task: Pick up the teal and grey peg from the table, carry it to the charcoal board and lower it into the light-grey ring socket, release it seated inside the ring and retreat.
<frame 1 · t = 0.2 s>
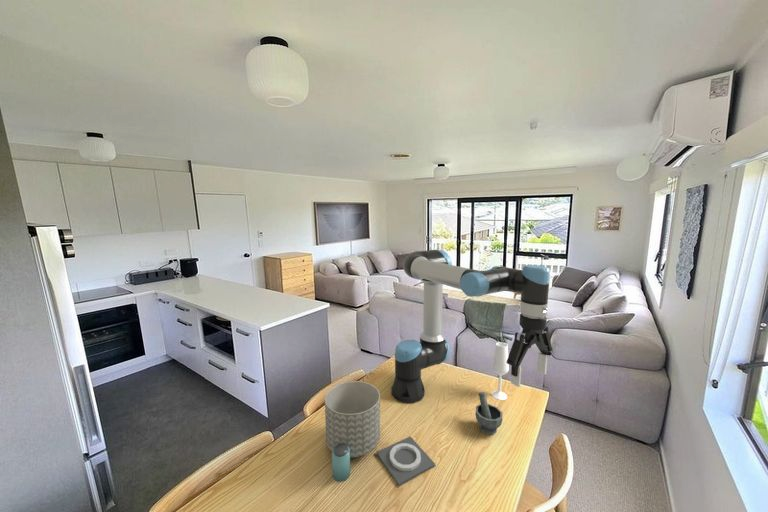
hand: (528, 378, 94), 28 cm above the table, fingers open, 13 cm apart
holder: (405, 459, 97), on the table
planter: (353, 444, 104), on the table
champagne flute: (499, 395, 131), on the table
mortar and pestle: (487, 427, 112), on the table
teal and grey peg: (341, 473, 92), on the table
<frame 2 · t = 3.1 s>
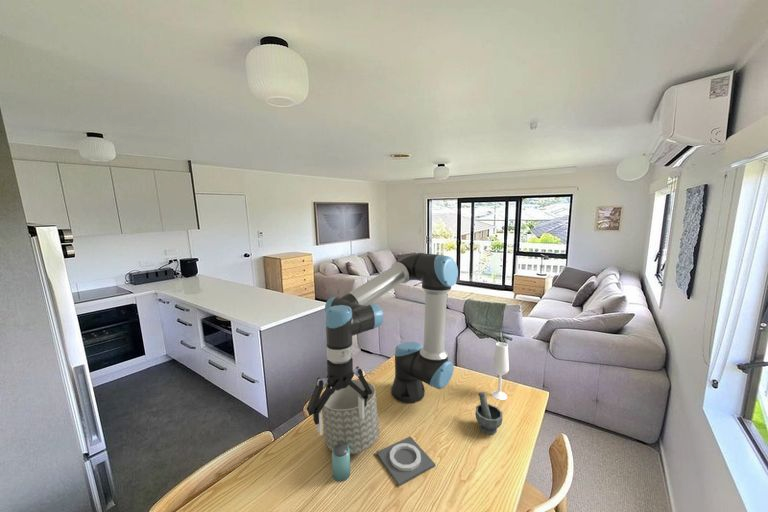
hand: (341, 424, 89), 17 cm above the table, fingers open, 13 cm apart
planter: (353, 442, 104), on the table, touching gripper
everything else where it was.
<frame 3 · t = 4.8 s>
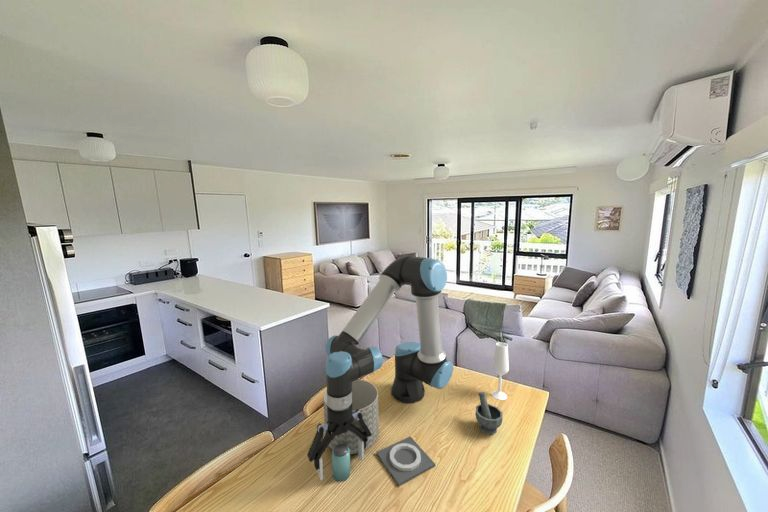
hand: (341, 466, 92), 2 cm above the table, fingers open, 13 cm apart
planter: (352, 441, 105), on the table, touching gripper, hand
everything else where it was.
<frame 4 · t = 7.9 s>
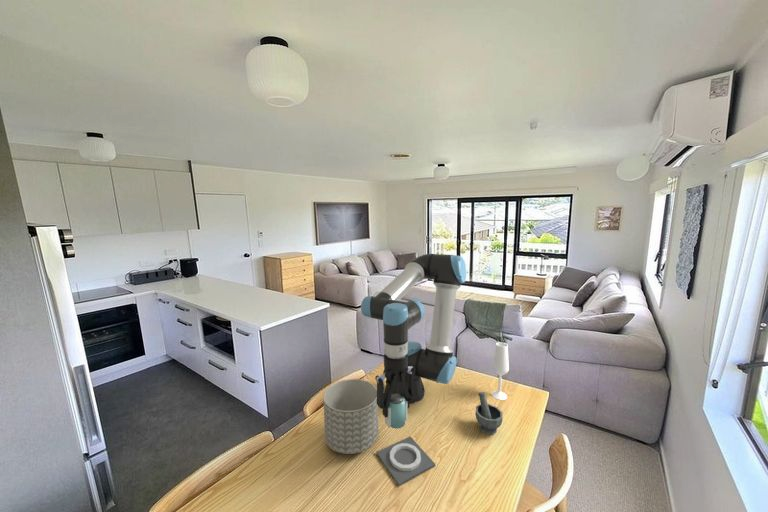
hand: (396, 421, 95), 14 cm above the table, fingers closed on teal and grey peg, 5 cm apart
planter: (352, 440, 105), on the table
teal and grey peg: (396, 422, 94), point 14 cm above the table, touching gripper
everything else where it was.
when the fingers open (3 cm above the table, at t = 10.7 s): teal and grey peg drops 2 cm, resting on holder.
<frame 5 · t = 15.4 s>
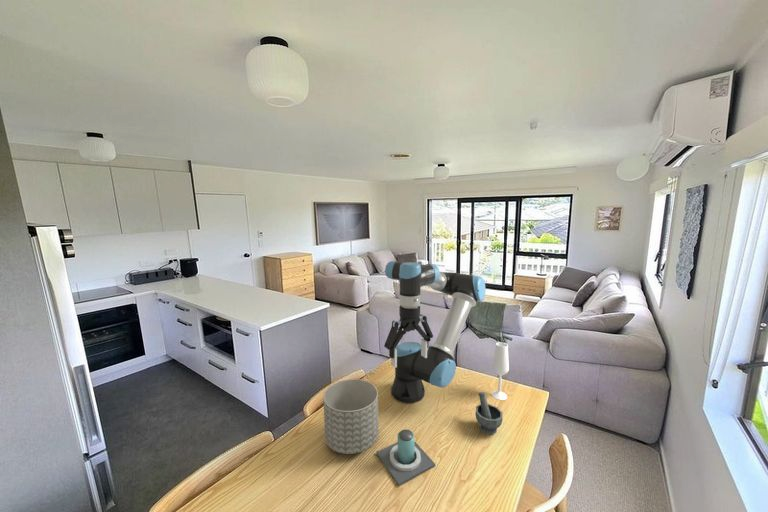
hand: (409, 361, 109), 27 cm above the table, fingers open, 13 cm apart
teal and grey peg: (406, 457, 97), point 1 cm above the table, touching holder
everything else where it was.
at the end: teal and grey peg 0.3 cm from the holder (horizontally); teal and grey peg tilted 0°; teal and grey peg point 0.8 cm above the table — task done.
